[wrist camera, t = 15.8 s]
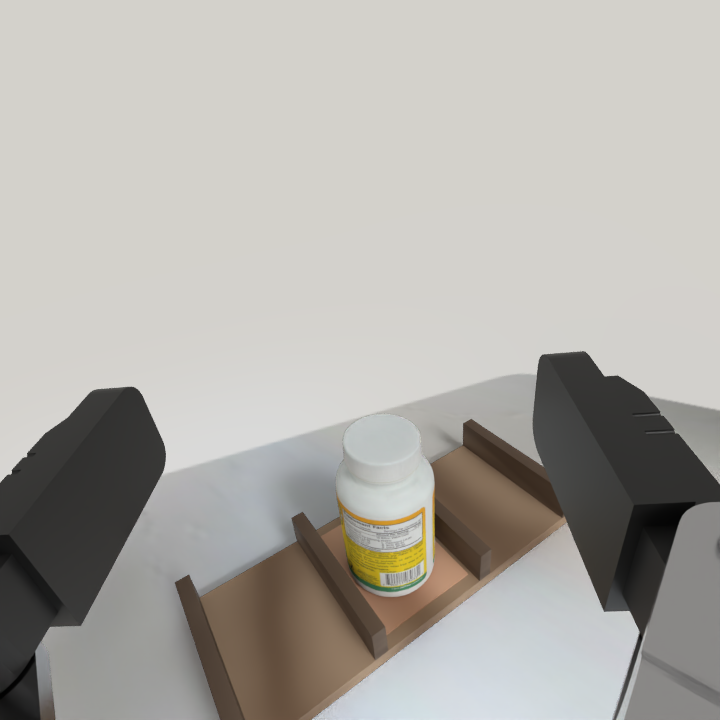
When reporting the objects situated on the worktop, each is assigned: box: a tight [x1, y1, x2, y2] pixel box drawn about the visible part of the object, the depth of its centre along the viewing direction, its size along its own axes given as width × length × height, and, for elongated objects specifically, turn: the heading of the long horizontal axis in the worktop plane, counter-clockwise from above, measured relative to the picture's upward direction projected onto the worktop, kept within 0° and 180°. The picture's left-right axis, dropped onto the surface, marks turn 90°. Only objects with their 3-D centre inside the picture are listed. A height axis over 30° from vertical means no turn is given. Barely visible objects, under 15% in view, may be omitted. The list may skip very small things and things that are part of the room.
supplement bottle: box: [336, 414, 435, 597], centre depth 26 cm, size 5×5×10 cm
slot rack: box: [175, 419, 567, 720], centre depth 28 cm, size 23×9×3 cm, turn 123°
